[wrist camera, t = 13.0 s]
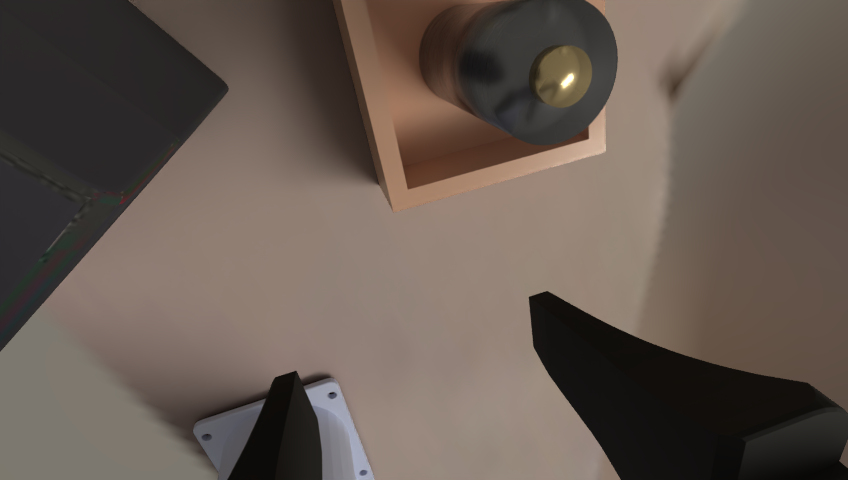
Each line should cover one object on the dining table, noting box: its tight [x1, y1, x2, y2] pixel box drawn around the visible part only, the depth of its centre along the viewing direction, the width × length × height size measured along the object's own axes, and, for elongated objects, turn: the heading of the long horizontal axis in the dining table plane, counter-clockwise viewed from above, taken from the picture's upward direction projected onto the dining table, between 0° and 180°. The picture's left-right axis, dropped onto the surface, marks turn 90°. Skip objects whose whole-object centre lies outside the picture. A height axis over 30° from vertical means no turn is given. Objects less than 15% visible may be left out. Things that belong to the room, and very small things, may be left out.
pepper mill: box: [419, 0, 618, 145], centre depth 16 cm, size 4×4×9 cm
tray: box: [332, 0, 606, 213], centre depth 19 cm, size 10×10×4 cm
